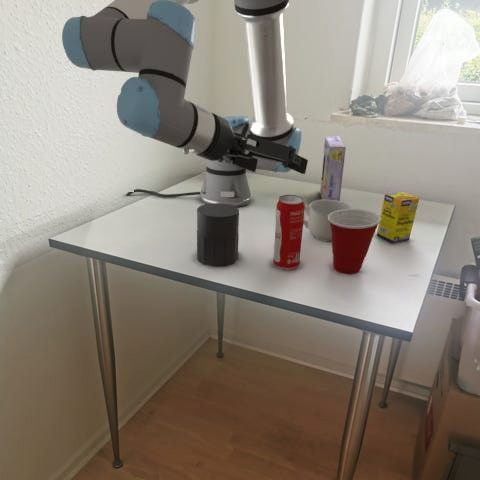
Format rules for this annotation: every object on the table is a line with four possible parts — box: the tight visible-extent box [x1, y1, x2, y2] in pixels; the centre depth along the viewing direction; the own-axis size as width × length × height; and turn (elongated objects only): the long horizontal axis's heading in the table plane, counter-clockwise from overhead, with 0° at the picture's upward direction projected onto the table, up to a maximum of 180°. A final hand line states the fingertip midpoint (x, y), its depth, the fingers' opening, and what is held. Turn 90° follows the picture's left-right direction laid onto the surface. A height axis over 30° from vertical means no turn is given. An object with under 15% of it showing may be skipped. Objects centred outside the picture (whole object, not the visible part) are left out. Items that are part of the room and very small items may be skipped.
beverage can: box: [272, 194, 306, 270], centre depth 99 cm, size 6×6×15 cm
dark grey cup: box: [196, 203, 240, 267], centre depth 102 cm, size 9×9×11 cm
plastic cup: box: [328, 208, 381, 275], centre depth 100 cm, size 11×11×12 cm
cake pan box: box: [319, 135, 347, 201], centre depth 141 cm, size 19×5×18 cm, turn 175°
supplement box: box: [376, 191, 420, 244], centre depth 117 cm, size 6×6×11 cm
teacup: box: [303, 198, 354, 242], centre depth 117 cm, size 14×11×8 cm
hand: (279, 166), depth 98 cm, fingers open, 13 cm apart
